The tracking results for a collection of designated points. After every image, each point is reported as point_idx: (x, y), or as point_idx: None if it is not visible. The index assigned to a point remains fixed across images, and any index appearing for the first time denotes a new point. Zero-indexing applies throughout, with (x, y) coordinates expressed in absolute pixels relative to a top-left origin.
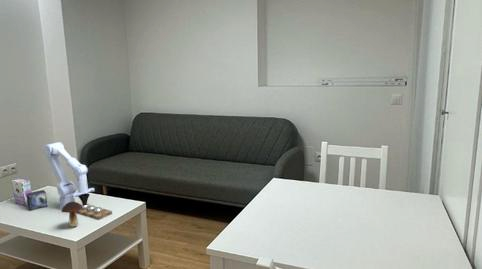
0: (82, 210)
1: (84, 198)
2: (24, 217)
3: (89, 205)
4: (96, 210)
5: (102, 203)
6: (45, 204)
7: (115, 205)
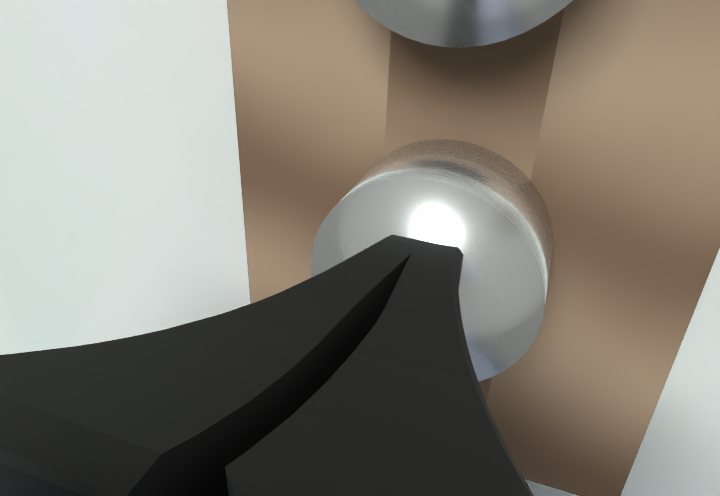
0: (625, 184)
1: (411, 417)
2: None
3: (269, 267)
4: None
5: (37, 179)
6: None
7: None
